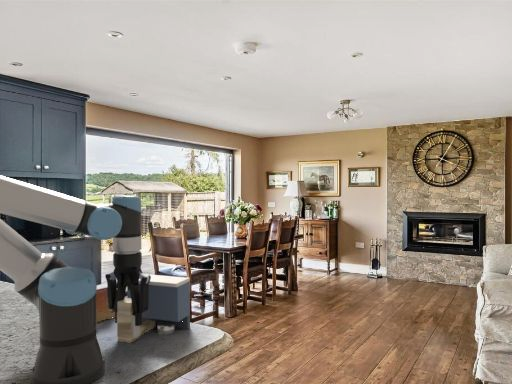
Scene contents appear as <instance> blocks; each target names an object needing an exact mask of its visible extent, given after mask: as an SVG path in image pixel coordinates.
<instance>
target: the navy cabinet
mask: <svg viewBox="0 0 512 384" xmlns="http://www.w3.org/2000/svg"><path fill="white" fill-rule="evenodd" d="M143 274H144V275H146V276H148V275H150V276H151V279H150V282H149V301H148V310H147V311H145V312H143V313H142V322H143V321H145V320H155V321H156V326H157V324H158V323H160V322H165V321H171V322H174V323H175V329H182V330H190V328H191V296H190V295H191V291H190V290H191V287H190V286H191V285H190V282H191V281H190V279H191V277H186V276H185V277H183V276H172V275H161V274H160V275H158V274H147V273H143ZM140 283H141V282H140V279H139V292H140ZM133 286H134V285H133ZM126 291H127V297H126V298H131V295H130V290H128V286H127V287H126ZM182 321H183V322H182Z"/></svg>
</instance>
